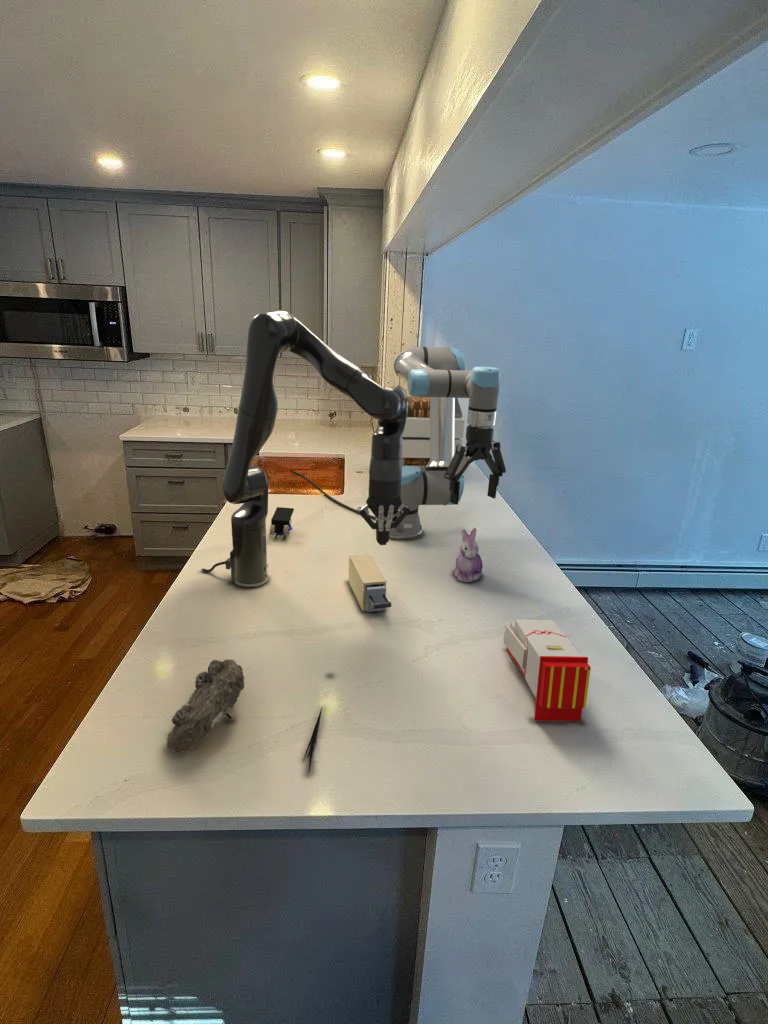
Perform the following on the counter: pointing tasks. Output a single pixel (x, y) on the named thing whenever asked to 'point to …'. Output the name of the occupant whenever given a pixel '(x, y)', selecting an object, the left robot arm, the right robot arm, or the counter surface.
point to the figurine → (468, 558)
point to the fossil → (206, 705)
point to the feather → (313, 740)
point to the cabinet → (363, 576)
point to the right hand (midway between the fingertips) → (473, 500)
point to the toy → (549, 668)
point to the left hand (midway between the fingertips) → (382, 543)
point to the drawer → (376, 598)
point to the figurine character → (281, 522)
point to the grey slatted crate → (423, 431)
